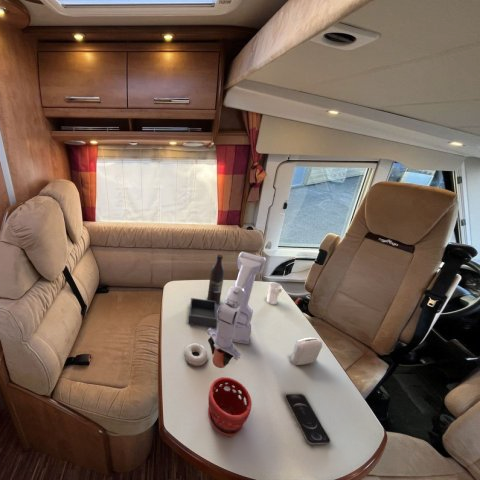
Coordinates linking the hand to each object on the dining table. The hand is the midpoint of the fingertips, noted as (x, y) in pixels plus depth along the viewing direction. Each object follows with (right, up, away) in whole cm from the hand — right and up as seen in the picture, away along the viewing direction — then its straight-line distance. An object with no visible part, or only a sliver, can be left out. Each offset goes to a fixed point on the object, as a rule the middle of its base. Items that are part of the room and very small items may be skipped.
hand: (219, 358), depth 90 cm
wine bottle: (+7, +10, +44) cm, 45 cm away
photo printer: (+38, -6, +10) cm, 40 cm away
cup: (+41, +10, +45) cm, 61 cm away
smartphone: (+27, -15, -10) cm, 32 cm away
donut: (-8, -5, +11) cm, 14 cm away
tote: (-1, +6, +33) cm, 33 cm away
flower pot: (-1, -15, -10) cm, 18 cm away
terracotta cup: (0, -2, +1) cm, 2 cm away
